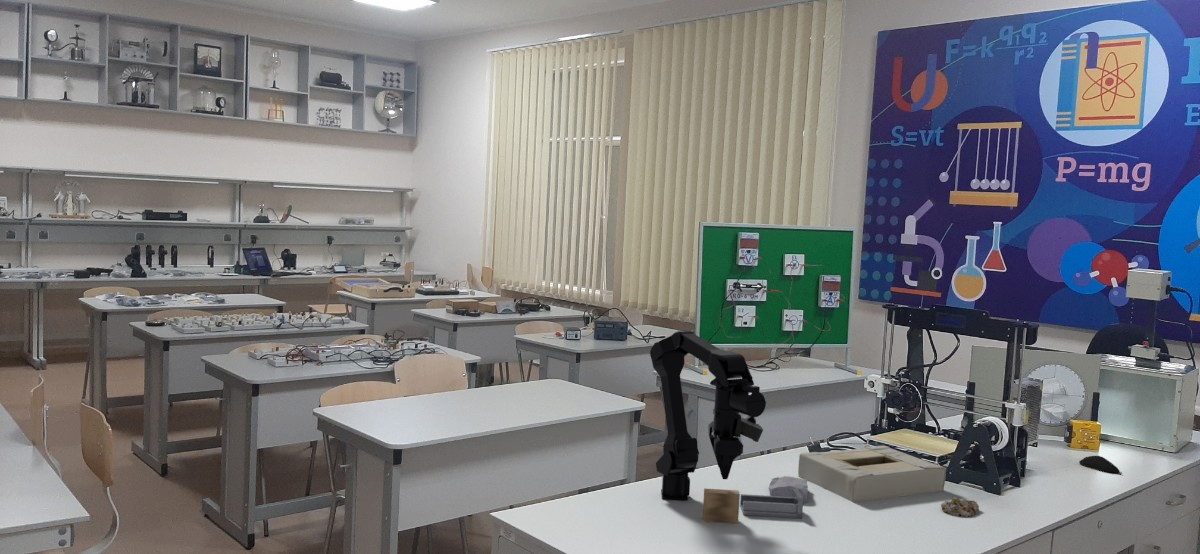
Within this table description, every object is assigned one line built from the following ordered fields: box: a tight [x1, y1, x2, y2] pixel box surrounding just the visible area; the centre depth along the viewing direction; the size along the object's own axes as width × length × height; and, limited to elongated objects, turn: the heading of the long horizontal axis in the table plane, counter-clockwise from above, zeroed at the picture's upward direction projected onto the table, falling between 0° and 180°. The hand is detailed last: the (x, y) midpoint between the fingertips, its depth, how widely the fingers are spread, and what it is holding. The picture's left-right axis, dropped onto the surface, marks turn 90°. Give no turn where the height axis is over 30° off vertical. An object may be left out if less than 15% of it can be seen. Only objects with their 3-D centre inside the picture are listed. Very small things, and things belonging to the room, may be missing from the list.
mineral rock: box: [940, 497, 980, 518], centre depth 220 cm, size 11×4×8 cm
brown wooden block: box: [702, 488, 741, 524], centre depth 205 cm, size 8×3×7 cm, turn 88°
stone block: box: [768, 475, 809, 503], centre depth 227 cm, size 12×5×10 cm
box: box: [797, 445, 947, 503], centre depth 240 cm, size 23×8×32 cm
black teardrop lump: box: [1079, 455, 1124, 476], centre depth 266 cm, size 6×15×4 cm, turn 23°
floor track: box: [739, 489, 804, 519], centre depth 213 cm, size 14×7×5 cm, turn 88°
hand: (722, 473), depth 205 cm, fingers open, 9 cm apart
